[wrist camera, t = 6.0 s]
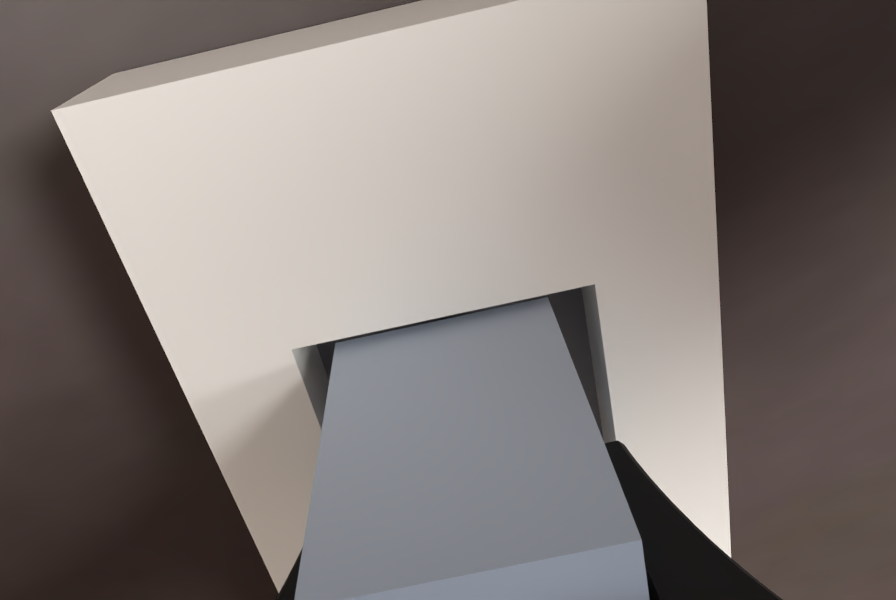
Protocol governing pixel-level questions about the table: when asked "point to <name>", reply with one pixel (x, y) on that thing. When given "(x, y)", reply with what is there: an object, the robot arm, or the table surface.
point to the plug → (466, 471)
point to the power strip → (423, 220)
